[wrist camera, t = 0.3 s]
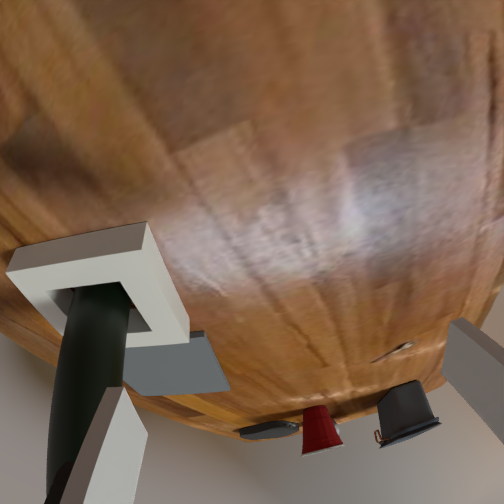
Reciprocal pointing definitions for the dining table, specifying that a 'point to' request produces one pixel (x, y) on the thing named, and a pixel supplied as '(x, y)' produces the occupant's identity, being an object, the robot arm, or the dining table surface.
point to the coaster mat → (174, 368)
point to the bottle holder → (104, 280)
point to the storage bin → (404, 414)
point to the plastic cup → (319, 431)
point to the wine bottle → (86, 367)
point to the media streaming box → (269, 430)
